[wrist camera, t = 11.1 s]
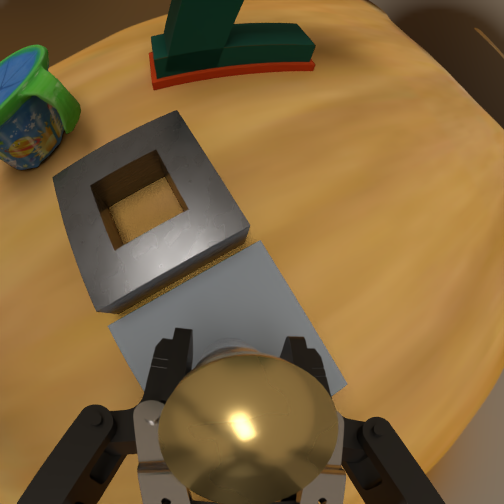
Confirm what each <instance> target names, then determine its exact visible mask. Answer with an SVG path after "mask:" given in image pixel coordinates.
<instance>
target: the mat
mask: <svg viewBox="0 0 504 504" xmlns="http://www.w3.org/2000/svg"><path fill="white" fill-rule="evenodd" d="M108 327H109V329H110V331H111V333H112V335H113V337H114V339H115V341H116V343H117V345H118V347H119V349H120V351H121V352H122V354H123V356H124V358H125V360H126V362H127V363H128V365H129V367H130V369H131V370H132V372H133V374H134V375H135V377H136V379H137V380H138V382H139V384H140V385H141V387H142V389H143V390H144V391H145V387H146V382H147V378H148V374H149V370H150V367H151V362H152V359H153V354H154V350H155V346H156V345H157V344H158V343H159V342H160V341H161V339H162V338H166V339H173V335H174V331H175V328H185V329H192V330H193V363H192V369H193V368H195V366H196V365H197V363H198V361H199V359H200V357H201V355H202V353H203V352H204V350H205V349H206V348H207V347H208V346H209V345H210V344H212V343H213V342H215V341H217V340H220V339H224V338H235V339H239V340H242V341H244V342H246V343H248V344H249V345H251V346H252V347H254V348H255V349H257V350H258V351H260V352H261V353H266V354H270V355H274V356H277V357H279V358H280V355H281V352H282V349H283V346H284V343H285V339H286V337H287V336H301V337H304V338H305V340H306V344H307V348H315V349H316V351H317V352H318V353H319V355H320V356H321V358H322V361H323V365H324V369H325V373H326V377H327V381H328V385H329V389H330V393H331V396H333V395H334V394H335V393H337V392H338V391H339V390H341V389H342V388H343V387H345V386H346V385H347V382H346V381H345V379H344V377H343V376H342V374H341V372H340V371H339V369H338V367H337V366H336V364H335V362H334V361H333V359H332V357H331V356H330V354H329V352H328V350H327V349H326V347H325V345H324V344H323V342H322V340H321V339H320V337H319V335H318V334H317V332H316V330H315V329H314V327H313V326H312V324H311V322H310V321H309V319H308V317H307V316H306V314H305V312H304V311H303V309H302V307H301V306H300V304H299V302H298V301H297V299H296V297H295V296H294V294H293V293H292V291H291V289H290V288H289V286H288V284H287V283H286V281H285V279H284V278H283V276H282V275H281V273H280V271H279V270H278V268H277V266H276V265H275V263H274V262H273V260H272V258H271V257H270V255H269V254H268V252H267V250H266V249H265V247H264V245H263V244H262V242H261V241H258V242H256V243H254V244H253V245H251V246H249V247H247V248H245V249H244V250H242V251H240V252H238V253H236V254H235V255H233V256H231V257H229V258H227V259H226V260H224V261H222V262H220V263H219V264H217V265H215V266H213V267H211V268H210V269H208V270H206V271H204V272H202V273H201V274H199V275H197V276H195V277H194V278H192V279H190V280H188V281H186V282H185V283H183V284H181V285H179V286H178V287H176V288H174V289H172V290H170V291H169V292H167V293H165V294H163V295H162V296H160V297H158V298H156V299H154V300H153V301H151V302H149V303H147V304H146V305H144V306H142V307H140V308H139V309H137V310H135V311H133V312H132V313H130V314H128V315H126V316H124V317H123V318H121V319H119V320H117V321H116V322H114V323H112V324H110V325H109V326H108Z"/></svg>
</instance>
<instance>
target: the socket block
mask: <svg viewBox="0 0 504 504" xmlns="http://www.w3.org/2000/svg"><path fill="white" fill-rule="evenodd" d="M164 176H165V177H166V179H167V181H168V183H169V185H170V187H171V189H172V190H173V192H174V194H175V196H176V198H177V200H178V202H179V203H180V205H181V207H182V209H183V211H184V212H183V213H181V214H179V215H177V216H175V217H173V218H172V219H170V220H168V221H166V222H164V223H162V224H160V225H159V226H157V227H155V228H153V229H151V230H150V231H148V232H146V233H144V234H143V235H141V236H139V237H137V238H136V239H134V240H132V241H130V242H129V243H127V244H125V245H124V244H123V242H122V239H121V237H120V235H119V232H118V230H117V228H116V225H115V223H114V220H113V218H112V215H111V213H110V210H109V208H108V207H110V206H111V205H113V204H115V203H117V202H118V201H120V200H122V199H124V198H125V197H127V196H129V195H131V194H132V193H134V192H136V191H138V190H140V189H142V188H143V187H145V186H147V185H149V184H151V183H153V182H155V181H157V180H159V179H160V178H162V177H164ZM53 182H54V187H55V191H56V195H57V199H58V203H59V207H60V211H61V215H62V218H63V222H64V225H65V229H66V232H67V235H68V238H69V242H70V245H71V248H72V251H73V254H74V256H75V259H76V262H77V265H78V268H79V270H80V273H81V276H82V278H83V281H84V283H85V286H86V288H87V291H88V293H89V296H90V298H91V300H92V303H93V305H94V307H95V309H96V312H104V313H112V314H119V313H121V312H123V311H124V310H126V309H128V308H130V307H131V306H133V305H135V304H137V303H138V302H140V301H142V300H144V299H146V298H147V297H149V296H151V295H153V294H154V293H156V292H158V291H160V290H161V289H163V288H165V287H167V286H168V285H170V284H172V283H174V282H176V281H177V280H179V279H181V278H183V277H184V276H186V275H188V274H190V273H192V272H193V271H195V270H197V269H199V268H201V267H202V266H204V265H206V264H208V263H210V262H211V261H213V260H215V259H217V258H219V257H220V256H222V255H224V254H226V253H228V252H229V251H231V250H233V249H235V248H237V247H238V246H240V245H242V244H244V243H245V240H246V237H247V234H248V231H249V228H250V224H249V223H248V221H247V219H246V218H245V216H244V215H243V213H242V211H241V210H240V208H239V207H238V205H237V203H236V202H235V200H234V199H233V197H232V195H231V194H230V192H229V191H228V189H227V187H226V186H225V184H224V183H223V181H222V180H221V178H220V176H219V175H218V173H217V172H216V170H215V169H214V167H213V165H212V164H211V162H210V161H209V159H208V158H207V156H206V154H205V153H204V151H203V150H202V148H201V147H200V145H199V143H198V142H197V140H196V139H195V137H194V136H193V134H192V133H191V131H190V129H189V128H188V126H187V125H186V123H185V122H184V120H183V119H182V117H181V115H180V114H179V112H178V111H177V110H176V111H173V112H171V113H168V114H166V115H164V116H162V117H159V118H157V119H155V120H153V121H151V122H148V123H146V124H144V125H142V126H140V127H138V128H136V129H134V130H132V131H130V132H128V133H126V134H124V135H122V136H120V137H118V138H116V139H114V140H113V141H111V142H109V143H107V144H105V145H104V146H102V147H100V148H98V149H97V150H95V151H93V152H91V153H90V154H88V155H86V156H85V157H83V158H81V159H80V160H78V161H77V162H75V163H73V164H72V165H70V166H69V167H67V168H66V169H64V170H63V171H61V172H60V173H58V174H57V175H55V176H54V177H53Z"/></svg>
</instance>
